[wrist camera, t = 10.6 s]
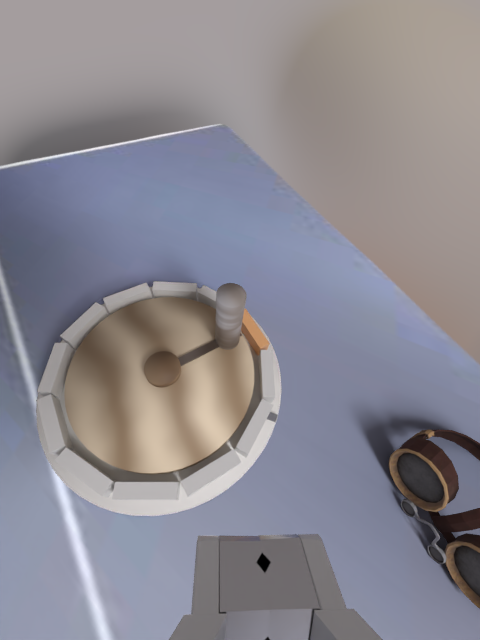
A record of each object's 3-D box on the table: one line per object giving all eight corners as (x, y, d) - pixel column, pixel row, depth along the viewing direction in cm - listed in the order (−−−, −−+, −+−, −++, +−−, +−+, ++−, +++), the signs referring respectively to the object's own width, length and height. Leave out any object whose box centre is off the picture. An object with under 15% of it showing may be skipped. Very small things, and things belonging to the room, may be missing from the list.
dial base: (-17, 453, 32) (-42, 446, 29) (126, 268, 46) (120, 251, 43) (233, 565, 28) (236, 571, 25) (301, 328, 43) (308, 314, 40)
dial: (107, 522, 28) (59, 526, 19) (48, 346, 37) (-4, 293, 28) (287, 406, 35) (313, 371, 26) (201, 282, 44) (199, 224, 35)
